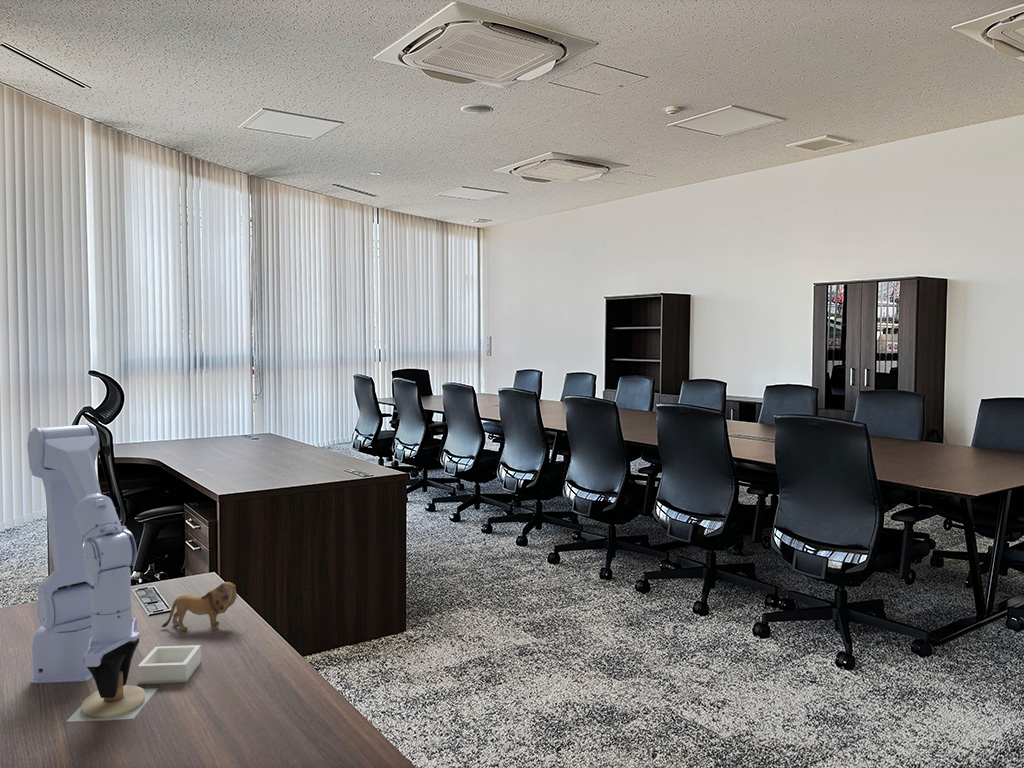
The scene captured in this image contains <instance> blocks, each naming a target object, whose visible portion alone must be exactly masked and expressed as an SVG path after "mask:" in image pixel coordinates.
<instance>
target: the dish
mask: <svg viewBox="0 0 1024 768" xmlns="http://www.w3.org/2000/svg"><path fill="white" fill-rule="evenodd" d="M201 663H202V645H201V644H198V645H196V644H195V645H191V644H190V645H166V646H165V645H164V646H162V645H161V646H154V648H152V650H150V652H149V653H148V654H147V655H146V656H145V657H144V659H142V660H141V662H140V663H139V664H138V665H137V685H148V684H149V685H150V684H153V685H154V684H155V685H156V684H178V683H179V684H181V683H187V682H188V681H189V680H190V678H191V677H192V676H193V674H194V673H195V671H196V670H197V669H198V667H199V666H200V664H201Z"/></svg>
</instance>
